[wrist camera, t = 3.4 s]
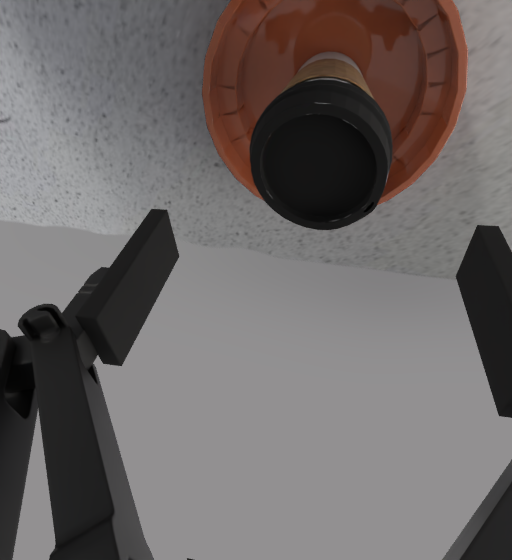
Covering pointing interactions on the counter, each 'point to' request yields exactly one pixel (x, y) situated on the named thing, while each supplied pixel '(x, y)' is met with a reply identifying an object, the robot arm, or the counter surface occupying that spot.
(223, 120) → the bowl
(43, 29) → the counter surface
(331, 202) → the coffee cup
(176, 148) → the counter surface
